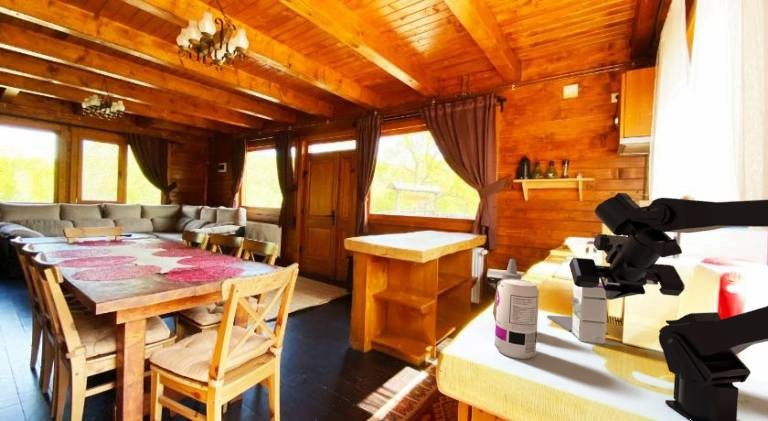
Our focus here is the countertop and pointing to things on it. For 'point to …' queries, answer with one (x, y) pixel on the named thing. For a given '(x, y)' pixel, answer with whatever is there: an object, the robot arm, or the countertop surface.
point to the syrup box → (589, 314)
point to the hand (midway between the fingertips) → (608, 297)
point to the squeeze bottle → (509, 274)
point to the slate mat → (562, 321)
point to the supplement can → (516, 318)
